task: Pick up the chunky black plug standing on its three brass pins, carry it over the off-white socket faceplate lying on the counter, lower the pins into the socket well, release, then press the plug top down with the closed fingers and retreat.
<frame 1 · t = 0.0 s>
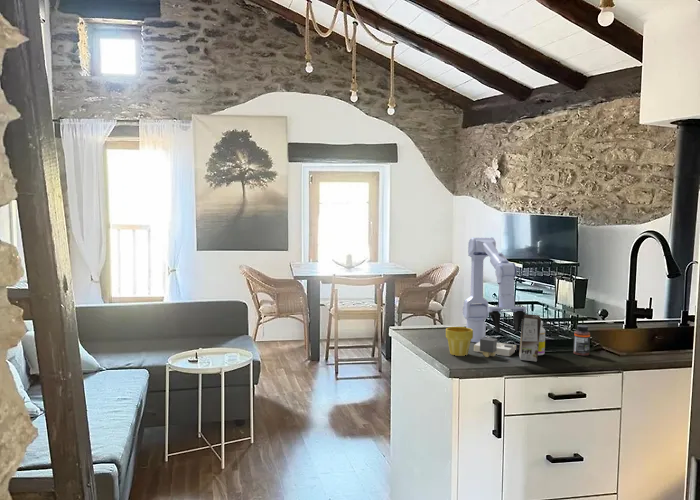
hand: (507, 331, 248), 11 cm above the worktop, tool pointing down, fingers open, 7 cm apart
plug: (487, 355, 254), on the worktop
socket: (494, 351, 262), on the worktop
supplement bottle 2: (535, 354, 259), on the worktop
coffee box: (527, 358, 251), on the worktop, touching gripper
plant pot: (458, 354, 256), on the worktop
supplement bottle: (581, 354, 260), on the worktop
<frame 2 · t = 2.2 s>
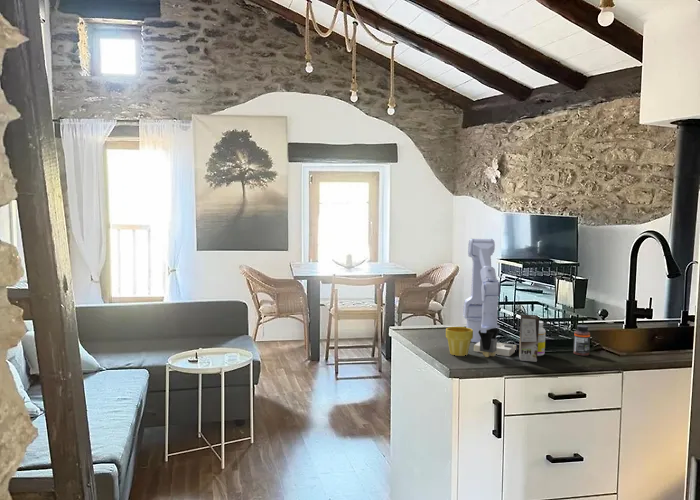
hand: (488, 348, 254), 3 cm above the worktop, tool pointing down, fingers closed on plug, 4 cm apart
plug: (487, 355, 254), on the worktop, touching gripper
coffee box: (527, 359, 251), on the worktop
everything else where it was.
when the fingers open (4 cm above the worktop, at t = 5.0 s): plug stays where it is, resting on socket.
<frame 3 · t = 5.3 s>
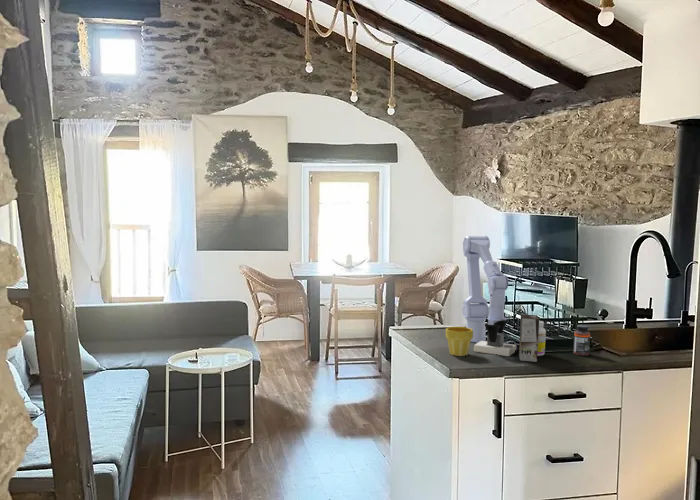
hand: (495, 340, 261), 4 cm above the worktop, tool pointing down, fingers open, 7 cm apart
plug: (495, 350, 262), resting on socket
everything else where it was.
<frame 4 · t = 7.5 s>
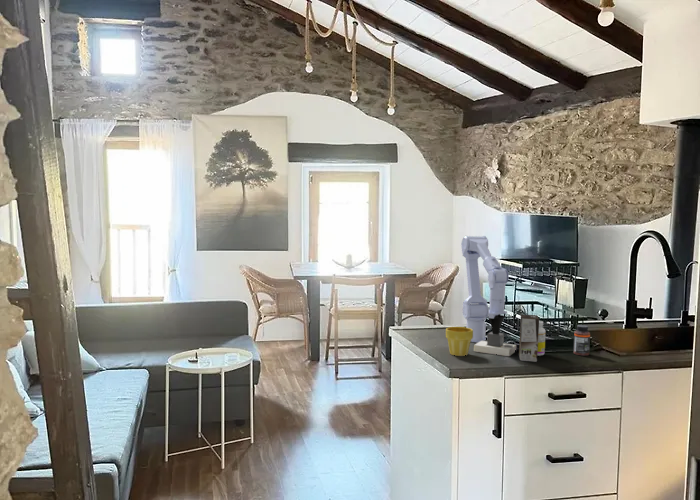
hand: (495, 333, 261), 7 cm above the worktop, tool pointing down, fingers closed, pressing on plug
plug: (495, 350, 262), resting on socket, touching gripper
everything else where it was.
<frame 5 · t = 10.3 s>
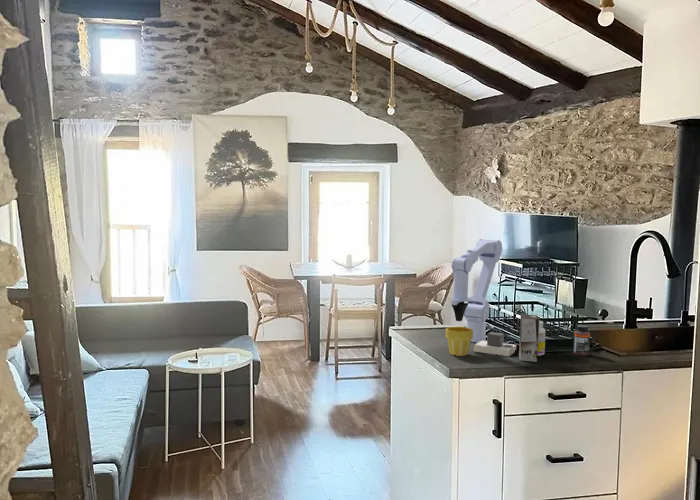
hand: (458, 320, 268), 10 cm above the worktop, tool pointing down, fingers closed
plug: (495, 350, 262), resting on socket
everything else where it was.
at the end: plug 0.0 cm off-centre on the socket, point 0.5 cm above the socket's base; plug tilted 0°; the gripper is holding nothing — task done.
